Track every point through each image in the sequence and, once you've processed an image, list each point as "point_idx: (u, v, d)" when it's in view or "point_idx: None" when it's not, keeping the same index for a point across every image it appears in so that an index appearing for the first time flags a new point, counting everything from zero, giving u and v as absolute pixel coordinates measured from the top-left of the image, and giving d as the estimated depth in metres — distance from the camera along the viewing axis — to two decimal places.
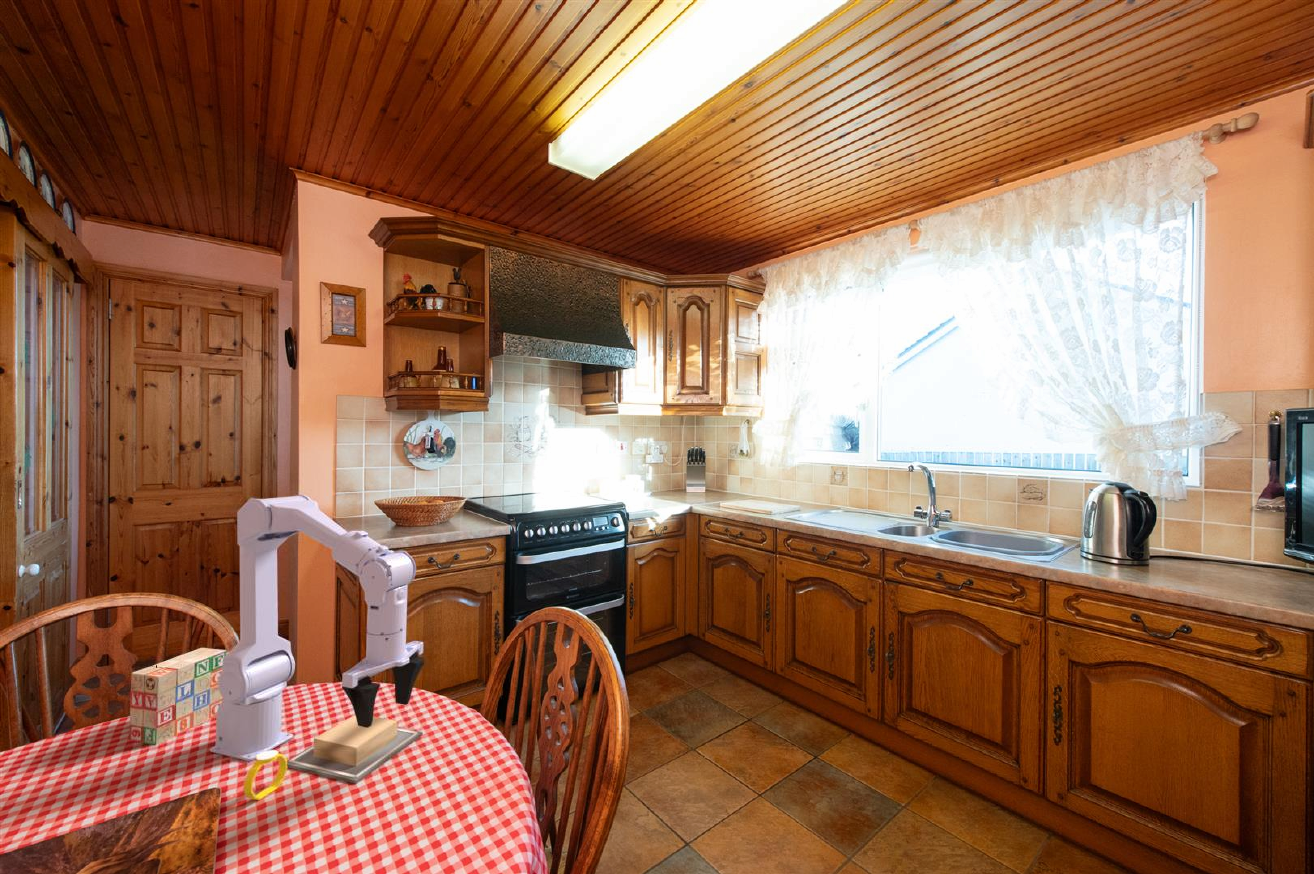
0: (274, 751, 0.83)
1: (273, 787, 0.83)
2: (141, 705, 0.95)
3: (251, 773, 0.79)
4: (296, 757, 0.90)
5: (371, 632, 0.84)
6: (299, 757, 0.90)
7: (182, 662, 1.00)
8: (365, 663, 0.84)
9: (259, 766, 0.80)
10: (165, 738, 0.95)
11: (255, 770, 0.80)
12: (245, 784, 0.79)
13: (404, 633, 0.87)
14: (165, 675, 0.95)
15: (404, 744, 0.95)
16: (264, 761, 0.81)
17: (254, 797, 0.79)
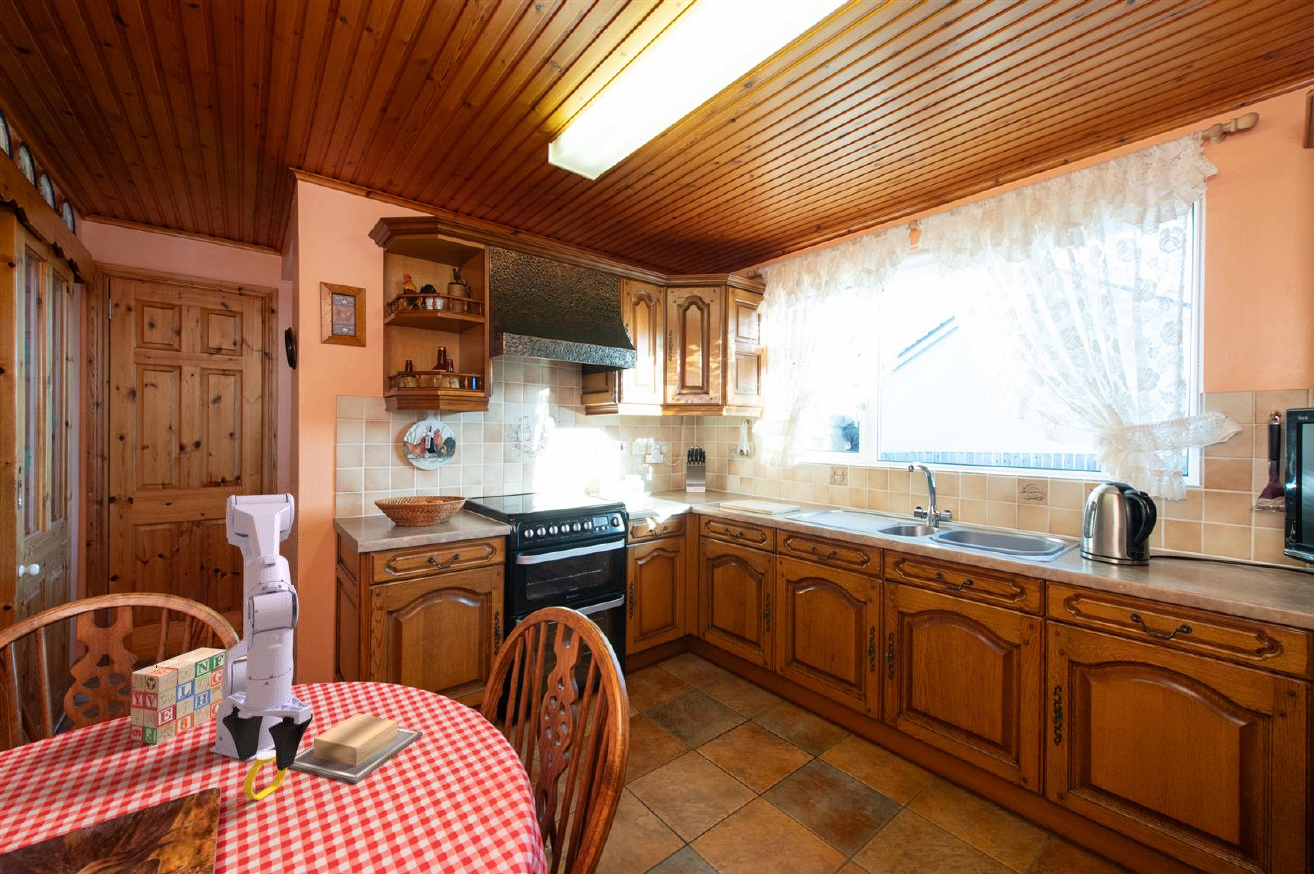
0: (274, 751, 0.83)
1: (273, 787, 0.83)
2: (142, 705, 0.95)
3: (251, 773, 0.79)
4: (296, 757, 0.90)
5: (246, 674, 0.80)
6: (299, 757, 0.90)
7: (182, 662, 1.00)
8: None
9: (259, 766, 0.80)
10: (166, 737, 0.95)
11: (255, 770, 0.80)
12: (245, 784, 0.79)
13: (257, 684, 0.79)
14: (165, 675, 0.95)
15: (404, 744, 0.95)
16: (264, 761, 0.81)
17: (254, 797, 0.79)
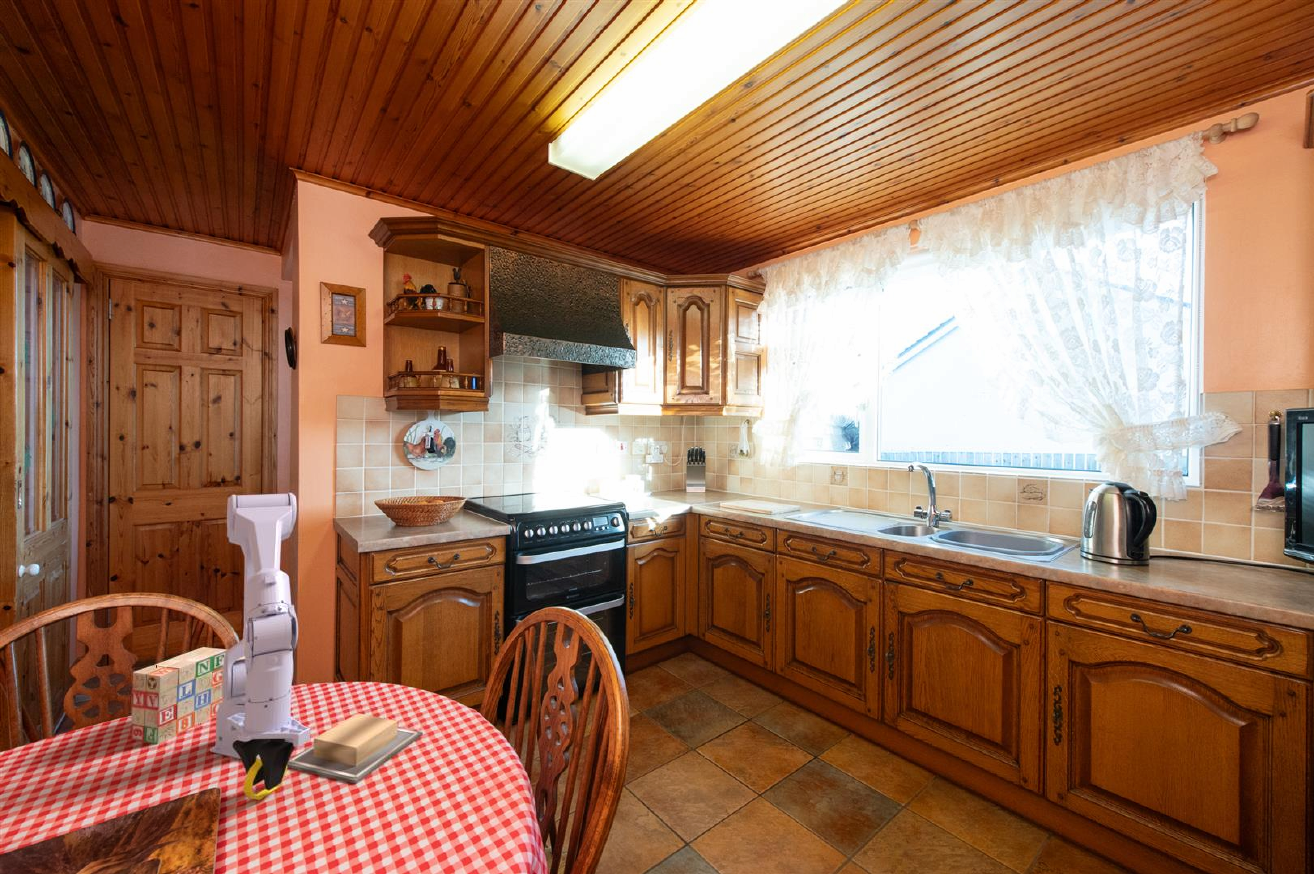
0: None
1: None
2: (143, 705, 0.95)
3: (251, 773, 0.79)
4: (296, 757, 0.90)
5: (245, 696, 0.80)
6: (299, 757, 0.90)
7: (183, 661, 1.00)
8: None
9: (259, 766, 0.80)
10: (166, 737, 0.96)
11: (255, 770, 0.80)
12: (245, 784, 0.79)
13: (256, 707, 0.79)
14: (167, 674, 0.95)
15: (404, 744, 0.95)
16: None
17: (254, 797, 0.79)
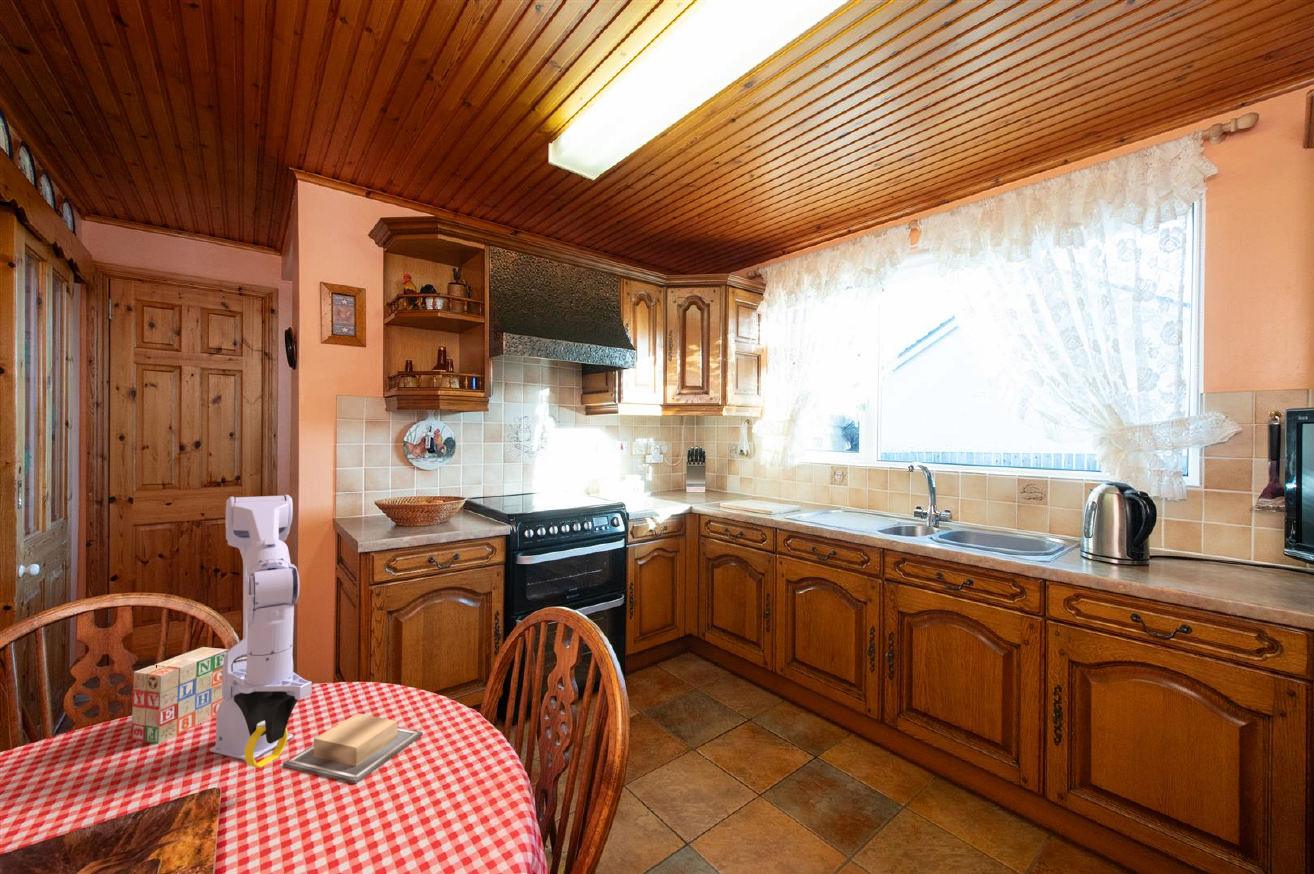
0: None
1: (274, 756, 0.83)
2: (143, 704, 0.95)
3: (252, 740, 0.79)
4: (296, 757, 0.90)
5: (246, 649, 0.80)
6: (299, 757, 0.90)
7: (184, 661, 1.00)
8: None
9: (260, 733, 0.80)
10: (167, 737, 0.96)
11: (256, 737, 0.80)
12: (246, 751, 0.79)
13: (257, 660, 0.79)
14: (167, 674, 0.95)
15: (404, 744, 0.95)
16: (265, 728, 0.81)
17: (255, 764, 0.79)
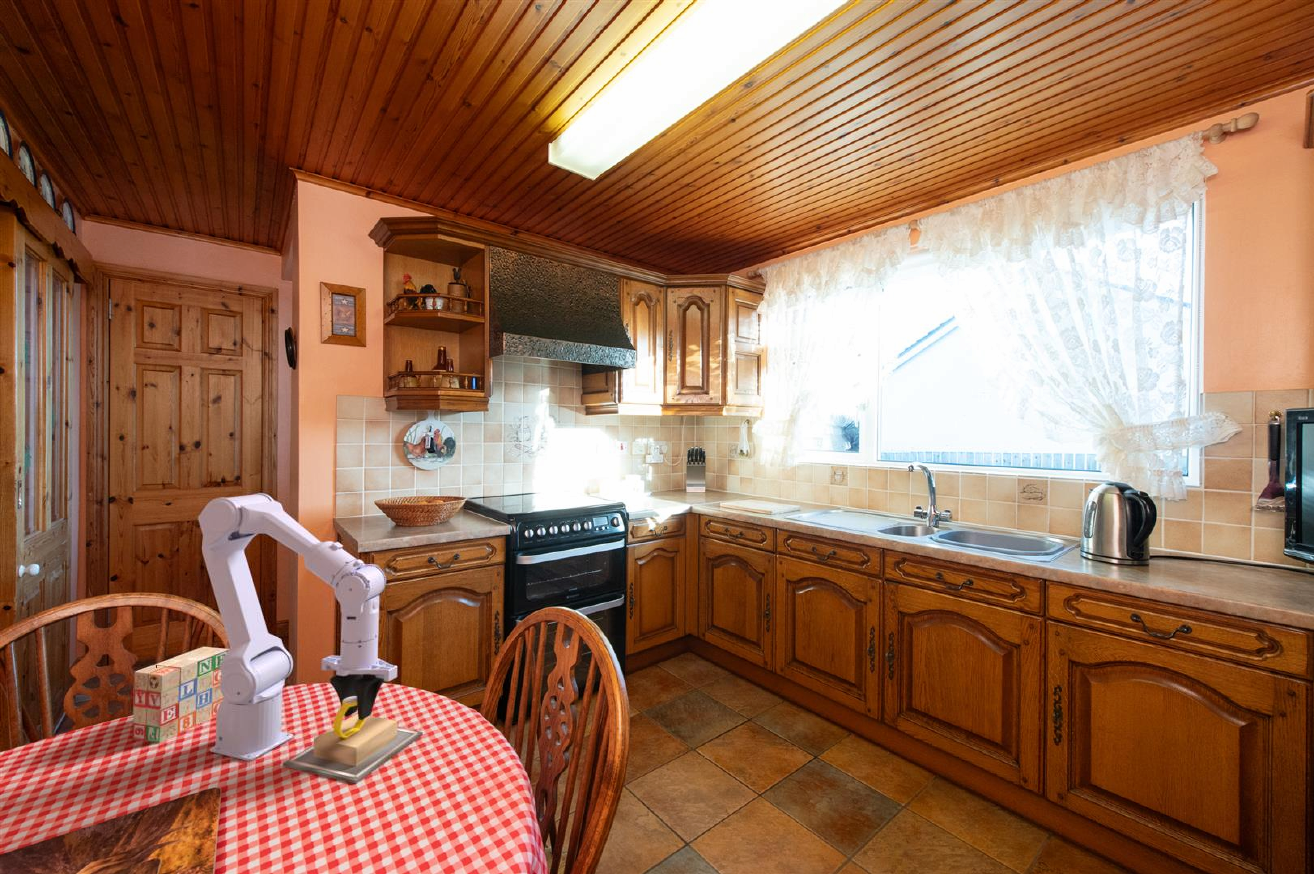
0: None
1: (356, 728, 0.93)
2: (144, 704, 0.95)
3: (340, 714, 0.90)
4: (296, 757, 0.90)
5: (348, 641, 0.91)
6: (299, 757, 0.90)
7: (185, 661, 1.00)
8: None
9: (346, 708, 0.91)
10: (168, 736, 0.96)
11: (343, 711, 0.90)
12: (335, 723, 0.90)
13: (351, 647, 0.91)
14: (168, 674, 0.96)
15: (404, 744, 0.95)
16: (350, 704, 0.91)
17: (342, 735, 0.90)
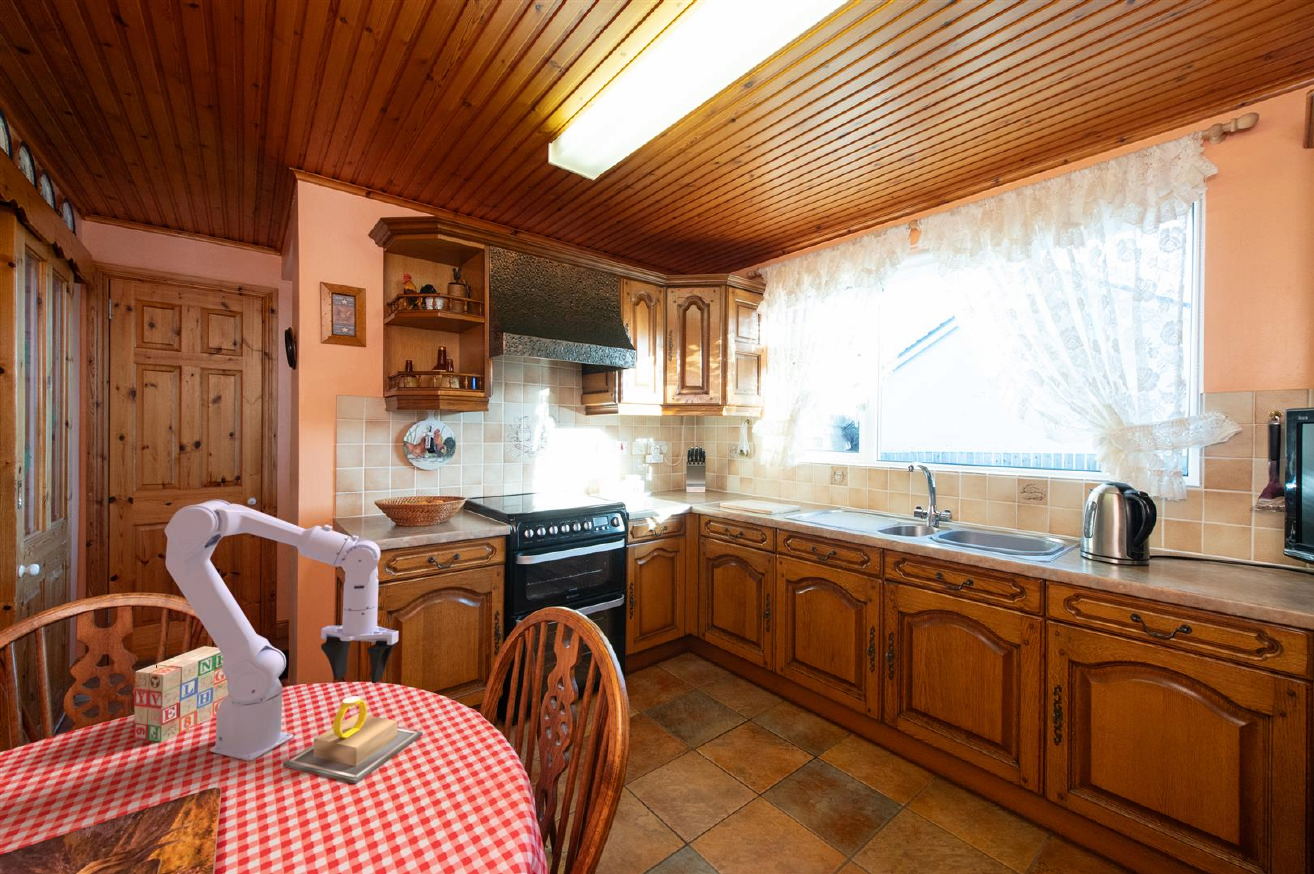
0: (356, 697, 0.93)
1: (356, 728, 0.93)
2: (146, 703, 0.95)
3: (339, 714, 0.90)
4: (296, 757, 0.90)
5: (356, 608, 0.98)
6: (299, 757, 0.90)
7: (186, 660, 1.00)
8: None
9: (346, 708, 0.91)
10: (170, 735, 0.96)
11: (343, 711, 0.90)
12: (334, 723, 0.90)
13: (355, 614, 0.98)
14: (170, 673, 0.96)
15: (404, 744, 0.95)
16: (350, 704, 0.91)
17: (342, 735, 0.90)
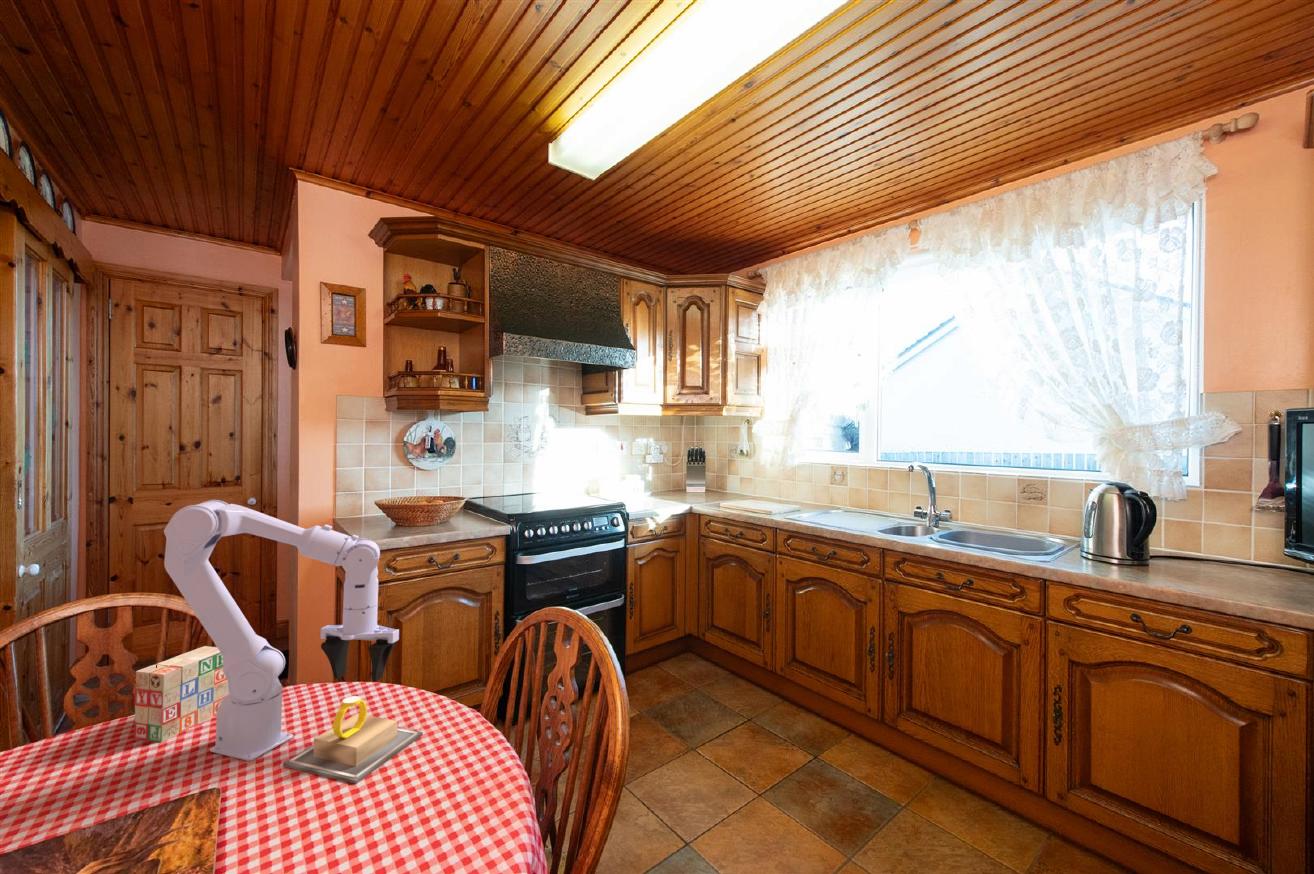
0: (356, 697, 0.93)
1: (356, 728, 0.93)
2: (146, 703, 0.96)
3: (339, 714, 0.90)
4: (296, 757, 0.90)
5: (357, 607, 0.98)
6: (299, 757, 0.90)
7: (186, 660, 1.01)
8: None
9: (346, 708, 0.91)
10: (170, 735, 0.96)
11: (343, 711, 0.90)
12: (334, 723, 0.90)
13: (356, 613, 0.98)
14: (170, 673, 0.96)
15: (404, 744, 0.95)
16: (350, 704, 0.91)
17: (342, 735, 0.90)
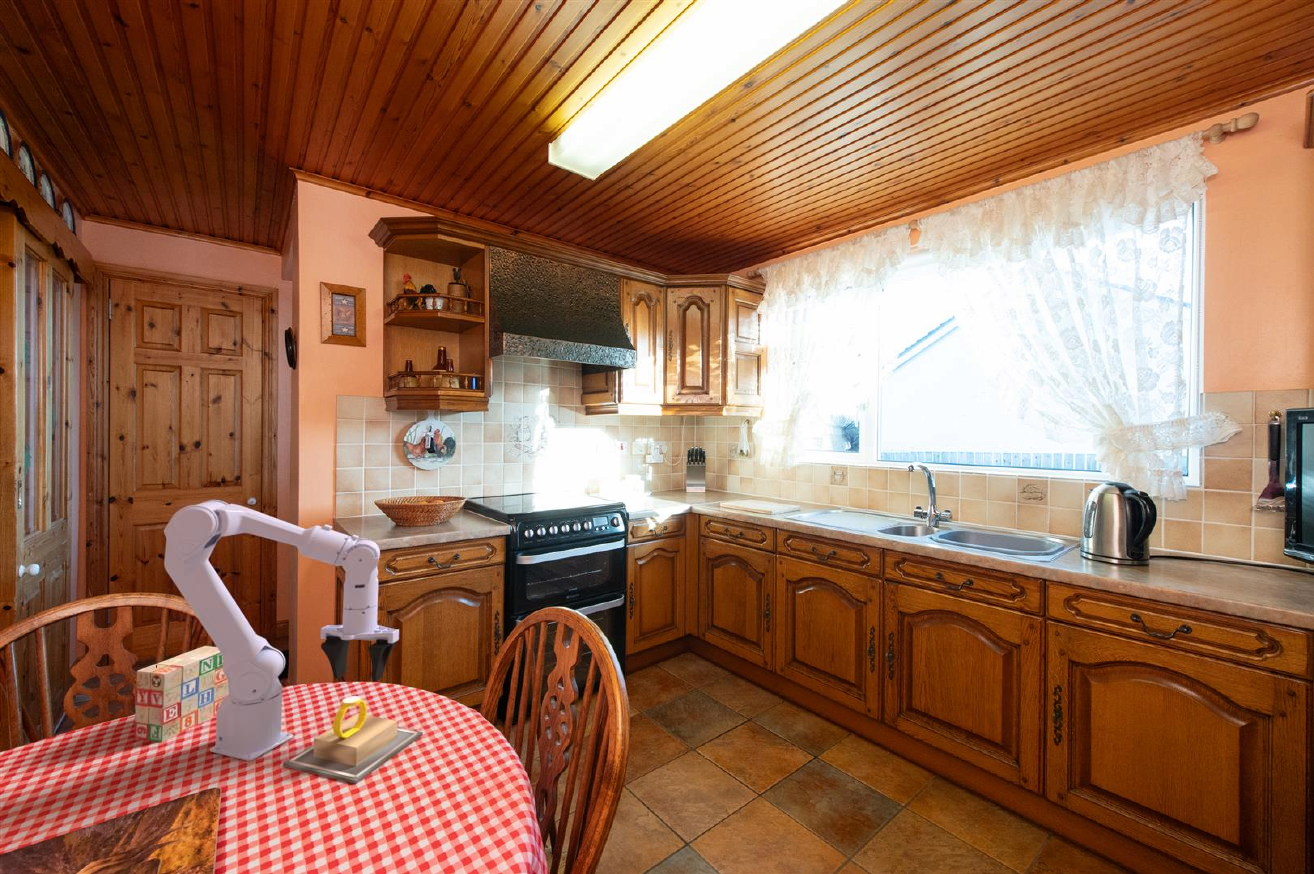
0: (356, 697, 0.93)
1: (356, 728, 0.93)
2: (147, 703, 0.96)
3: (339, 714, 0.90)
4: (296, 757, 0.90)
5: (357, 607, 0.98)
6: (299, 757, 0.90)
7: (187, 660, 1.01)
8: None
9: (346, 708, 0.91)
10: (171, 735, 0.96)
11: (343, 711, 0.90)
12: (334, 723, 0.90)
13: (356, 613, 0.98)
14: (171, 672, 0.96)
15: (404, 744, 0.95)
16: (350, 704, 0.91)
17: (342, 735, 0.90)
